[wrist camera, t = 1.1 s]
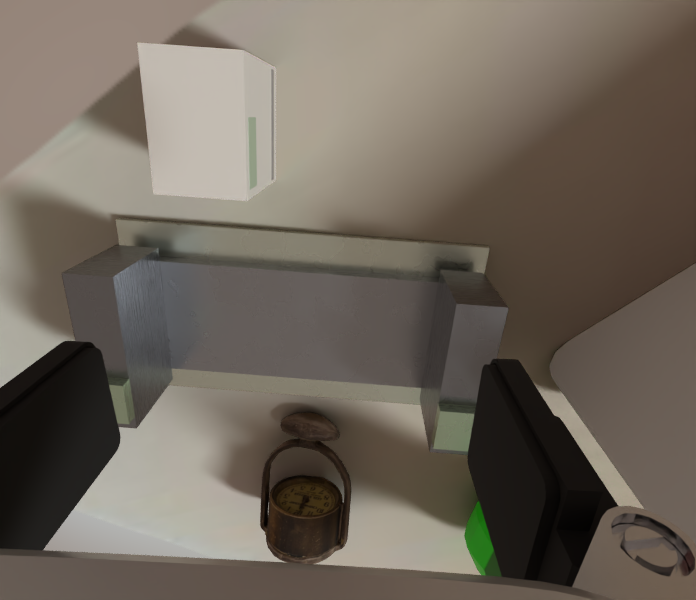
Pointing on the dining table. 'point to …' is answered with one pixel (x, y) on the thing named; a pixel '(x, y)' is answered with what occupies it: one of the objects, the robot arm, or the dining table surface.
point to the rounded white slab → (642, 394)
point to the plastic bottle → (481, 544)
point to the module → (208, 120)
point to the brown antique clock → (306, 499)
